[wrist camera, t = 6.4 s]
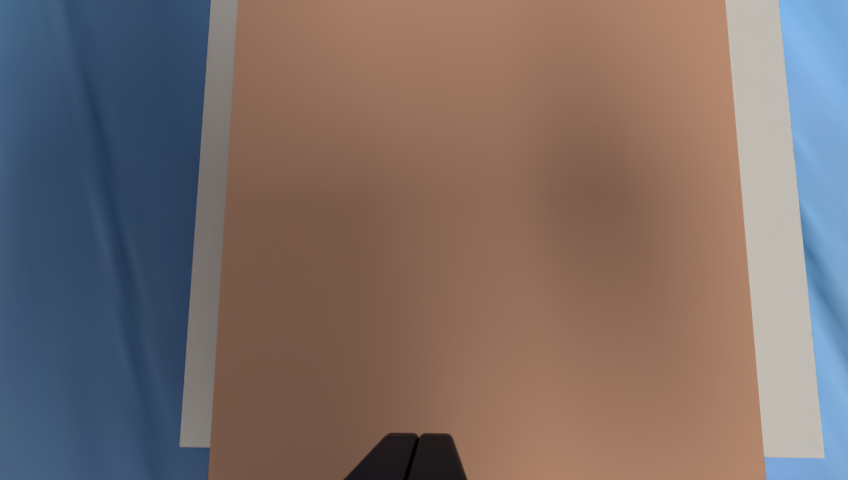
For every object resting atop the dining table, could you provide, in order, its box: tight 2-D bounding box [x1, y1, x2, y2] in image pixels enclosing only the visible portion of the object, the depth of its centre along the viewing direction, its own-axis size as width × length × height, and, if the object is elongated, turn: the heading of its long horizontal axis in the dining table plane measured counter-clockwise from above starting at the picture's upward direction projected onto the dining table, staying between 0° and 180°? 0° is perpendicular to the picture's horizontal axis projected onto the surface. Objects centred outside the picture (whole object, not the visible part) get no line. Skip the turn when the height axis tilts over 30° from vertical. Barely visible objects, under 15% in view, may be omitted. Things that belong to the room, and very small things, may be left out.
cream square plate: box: [180, 0, 825, 458], centre depth 20 cm, size 15×16×1 cm
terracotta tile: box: [208, 0, 766, 480], centre depth 18 cm, size 2×12×14 cm
